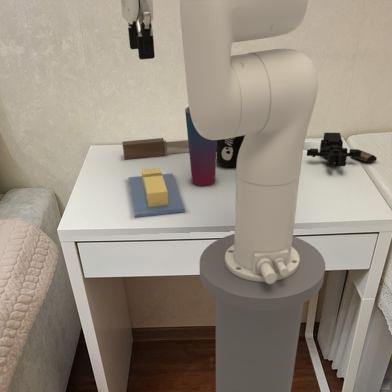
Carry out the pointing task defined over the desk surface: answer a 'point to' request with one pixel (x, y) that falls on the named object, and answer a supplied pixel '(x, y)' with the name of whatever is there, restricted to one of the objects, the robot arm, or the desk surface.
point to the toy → (333, 150)
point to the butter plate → (141, 201)
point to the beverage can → (228, 151)
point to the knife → (153, 148)
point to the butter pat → (151, 173)
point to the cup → (201, 155)
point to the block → (366, 156)
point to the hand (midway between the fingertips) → (142, 53)
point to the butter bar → (155, 191)
